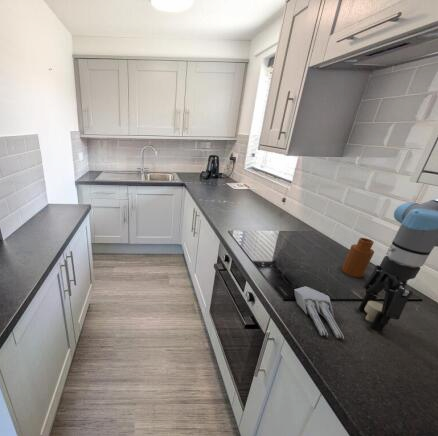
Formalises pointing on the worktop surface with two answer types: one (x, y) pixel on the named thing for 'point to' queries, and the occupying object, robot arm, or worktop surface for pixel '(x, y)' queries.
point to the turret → (317, 309)
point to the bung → (372, 310)
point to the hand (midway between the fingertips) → (369, 319)
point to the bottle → (358, 258)
